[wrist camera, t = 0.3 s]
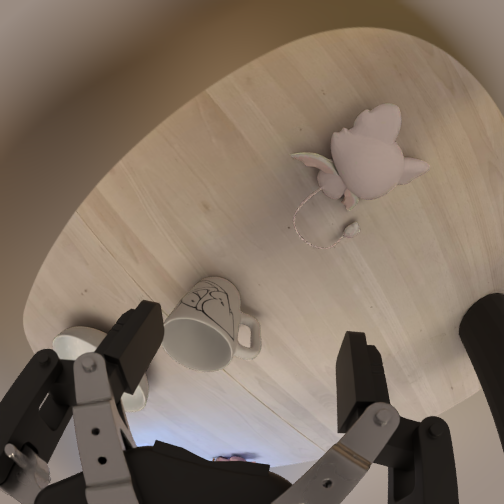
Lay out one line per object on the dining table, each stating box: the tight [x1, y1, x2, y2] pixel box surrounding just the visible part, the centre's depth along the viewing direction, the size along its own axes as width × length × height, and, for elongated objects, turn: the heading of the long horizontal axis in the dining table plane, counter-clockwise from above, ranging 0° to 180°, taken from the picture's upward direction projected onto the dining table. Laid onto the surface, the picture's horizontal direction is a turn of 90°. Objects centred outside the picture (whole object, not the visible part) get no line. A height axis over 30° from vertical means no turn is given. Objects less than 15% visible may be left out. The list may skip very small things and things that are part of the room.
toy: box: [289, 103, 430, 249], centre depth 26 cm, size 12×8×15 cm
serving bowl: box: [53, 326, 149, 412], centre depth 48 cm, size 21×21×7 cm
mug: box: [161, 277, 261, 372], centre depth 35 cm, size 11×8×10 cm
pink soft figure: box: [213, 456, 255, 463], centre depth 61 cm, size 6×6×15 cm
